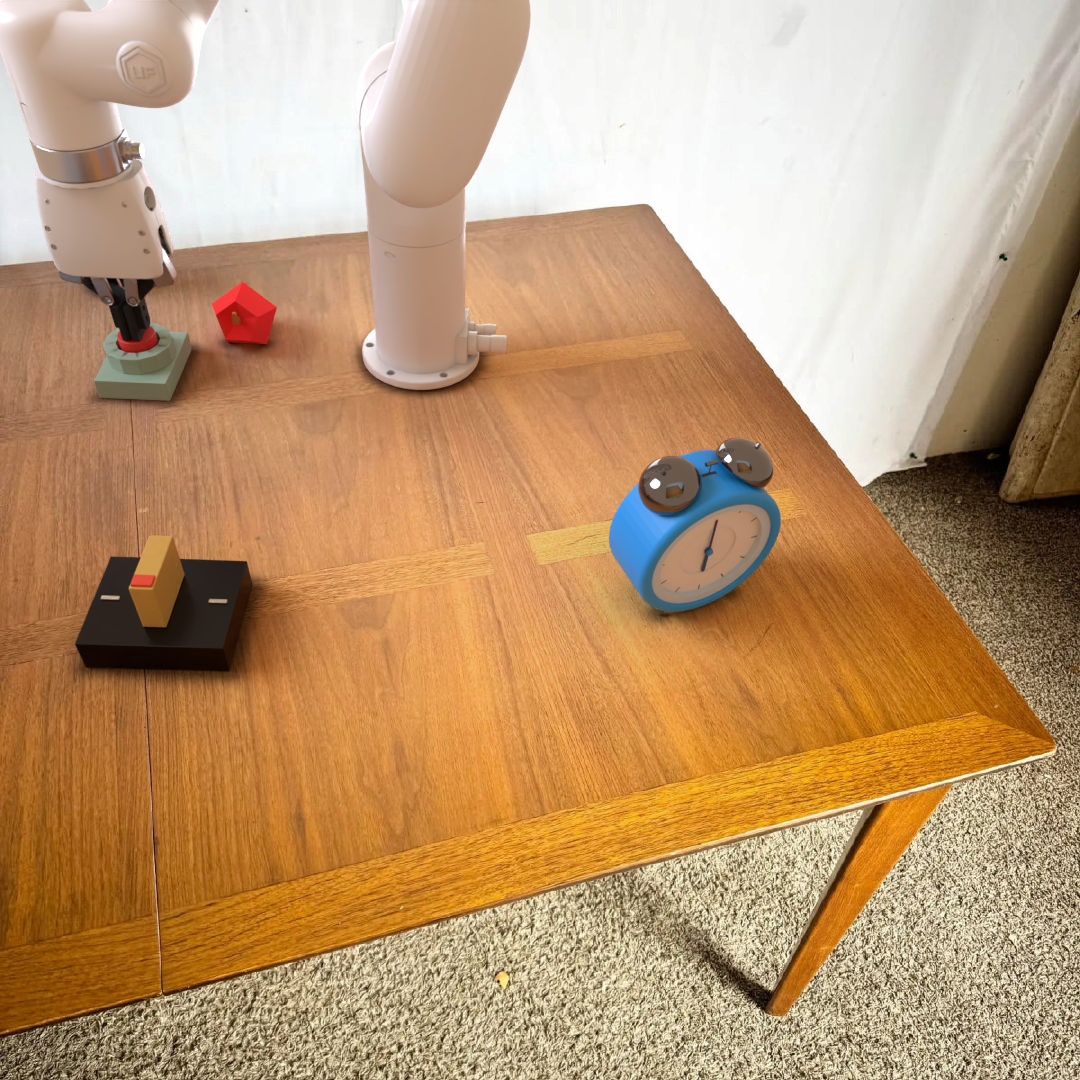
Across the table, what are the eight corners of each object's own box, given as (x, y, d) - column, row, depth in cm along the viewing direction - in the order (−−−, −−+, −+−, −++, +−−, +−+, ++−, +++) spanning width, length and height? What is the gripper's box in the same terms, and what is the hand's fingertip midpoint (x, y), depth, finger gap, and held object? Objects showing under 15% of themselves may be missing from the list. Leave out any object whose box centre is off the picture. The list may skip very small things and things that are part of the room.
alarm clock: (631, 633, 80) (657, 503, 69) (597, 581, 83) (617, 450, 73) (762, 589, 84) (807, 460, 73) (725, 541, 88) (761, 412, 77)
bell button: (127, 336, 99) (123, 322, 98) (162, 338, 99) (158, 323, 98) (116, 357, 96) (112, 342, 95) (153, 359, 96) (149, 344, 95)
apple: (225, 268, 105) (202, 281, 97) (287, 284, 106) (269, 299, 98) (217, 329, 108) (194, 346, 100) (278, 344, 108) (260, 363, 101)
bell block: (125, 346, 103) (116, 314, 100) (192, 349, 103) (184, 317, 100) (99, 398, 97) (88, 365, 94) (170, 401, 97) (161, 368, 94)
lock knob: (162, 573, 77) (148, 532, 74) (185, 574, 77) (172, 533, 74) (142, 627, 73) (127, 586, 70) (166, 627, 73) (152, 587, 70)
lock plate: (253, 584, 81) (246, 559, 79) (229, 671, 75) (222, 647, 72) (120, 580, 80) (110, 554, 78) (85, 667, 74) (73, 642, 72)
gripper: (181, 139, 86) (219, 315, 99) (10, 130, 85) (72, 309, 99) (158, 177, 81) (202, 358, 94) (-23, 169, 80) (46, 352, 93)
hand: (135, 332), depth 96 cm, fingers closed
